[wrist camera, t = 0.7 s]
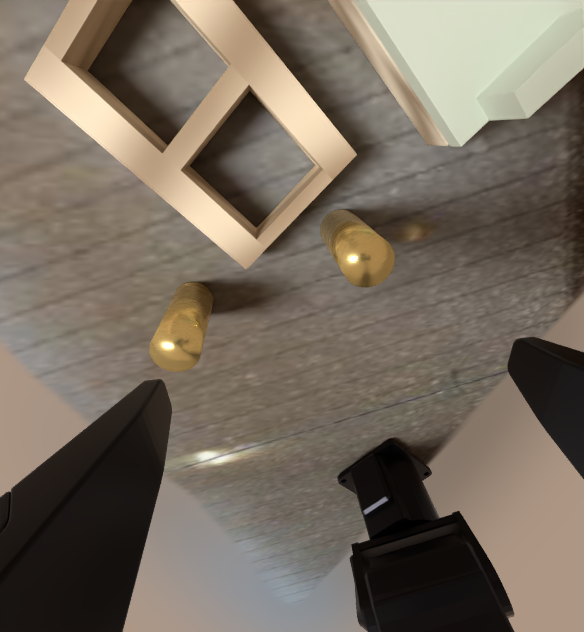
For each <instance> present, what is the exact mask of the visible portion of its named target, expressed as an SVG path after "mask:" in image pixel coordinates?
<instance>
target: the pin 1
mask: <svg viewBox="0 0 584 632" xmlns="http://www.w3.org/2000/svg"><path fill="white" fill-rule="evenodd" d="M212 306H213V295H212V293H211V291H210V290H209V289H208V288H207V287H206V286H205V285H203V284H201V283H198V282H187V283H184V284H182V285H181V286H180V287H179V288H178V289H177V291H176V293H175V295H174V297H173V299H172V301H171V303H170V305H169V307H168V309H167V311H166V313H165V315H164V317H163V319H162V321H161V323H160V325H159V327H158V329H157V331H156V333H155V335H154V337H153V339H152V341H151V343H150V347H149V352H150V356H151V358H152V359H153V361H154V362H155V363H156V364H157V365H158V366H160V367H161V368H163V369H166V370H169V371H174V372H180V371H185V370H188V369H190V368H192V367H193V366H195V365H196V363H197V362H198V361H199V358H200V354H201V350H202V346H203V342H204V338H205V334H206V330H207V326H208V322H209V318H210V314H211V310H212Z"/></svg>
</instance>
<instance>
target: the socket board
mask: <svg viewBox="0 0 584 632" xmlns="http://www.w3.org/2000/svg"><path fill="white" fill-rule="evenodd" d="M170 1H171V2H172V3H173V4H174V5H175V6H176V8H177V9H178V10H179V11H180V12H181V13H182V14H183V16H184V17H185V18H186V19H187V20H188V21H189V22H190V23H191V25H192V26H193V27H194V28H195V29H196V30H197V31H198V33H199V34H200V35H201V36H202V37H203V38H204V39H205V40H206V42H207V43H208V44H209V45H210V46H211V47H212V48H213V50H214V51H215V52H216V53H217V54H218V55H219V56H220V57H221V59H222V60H223V61H224V62H225V63H226V64H227V65H228V68H227V70H226V71H225V72H224V74H223V75H222V76H221V78H220V79H219V80H218V82H217V83H216V84H215V85H214V87H213V88H212V89H211V91H210V92H209V93H208V95H207V96H206V97H205V99H204V100H203V101H202V102H201V104H200V105H199V106H198V108H197V109H196V110H195V112H194V113H193V114H192V116H191V117H190V118H189V119H188V121H187V122H186V123H185V125H184V126H183V127H182V129H181V130H180V131H179V133H178V134H177V135H176V136H175V138H174V139H173V140H172V142H171V143H170V144H169V146H168V145H167V144H166V143H165V142H163V141H162V140H161V139H160V138H159V137H158V136H157V135H156V134H155V133H154V132H153V131H152V130H151V129H150V128H148V127H147V126H146V125H145V124H144V123H143V122H142V121H141V120H140V119H139V118H138V117H137V116H136V115H135V114H133V113H132V112H131V111H130V110H129V109H128V108H127V107H126V106H125V105H124V104H123V103H122V102H121V101H119V100H118V99H117V98H116V97H115V96H114V95H113V94H112V93H111V92H110V91H109V90H108V89H107V88H106V87H104V86H103V85H102V84H101V83H100V82H99V81H98V80H97V79H96V78H95V77H94V76H93V75H92V74H91V73H89V72H88V69H89V68H90V66H91V65H92V63H93V61H94V60H95V58H96V57H97V55H98V54H99V52H100V50H101V49H102V47H103V46H104V44H105V43H106V41H107V39H108V38H109V36H110V35H111V33H112V32H113V30H114V28H115V27H116V25H117V24H118V22H119V21H120V19H121V17H122V16H123V14H124V13H125V11H126V9H127V8H128V6H129V5H130V3H131V2H132V0H70V1H69V2H68V4H67V6H66V8H65V9H64V11H63V13H62V14H61V16H60V18H59V20H58V21H57V23H56V25H55V26H54V28H53V30H52V32H51V33H50V35H49V37H48V39H47V40H46V42H45V44H44V45H43V47H42V49H41V51H40V52H39V54H38V56H37V58H36V59H35V61H34V63H33V64H32V66H31V68H30V70H29V71H28V73H27V75H26V77H25V78H24V80H25V81H26V82H28V83H29V84H30V85H31V86H32V87H33V88H35V89H36V90H37V91H38V92H39V93H40V94H42V95H43V96H44V97H45V98H46V99H47V100H49V101H50V102H51V103H52V104H53V105H54V106H56V107H57V108H58V109H59V110H60V111H61V112H63V113H64V114H65V115H66V116H67V117H68V118H70V119H71V120H72V121H73V122H74V123H76V124H77V125H78V126H79V127H80V128H81V129H83V130H84V131H85V132H86V133H87V134H88V135H90V136H91V137H92V138H93V139H94V140H95V141H97V142H98V143H99V144H100V145H101V146H102V147H104V148H105V149H106V150H107V151H108V152H109V153H111V154H112V155H113V156H114V157H115V158H116V159H118V160H119V161H120V162H121V163H122V164H123V165H125V166H126V167H127V168H128V169H129V170H130V171H132V172H133V173H134V174H135V175H136V176H138V177H139V178H140V179H141V180H142V181H143V182H145V183H146V184H147V185H148V186H149V187H150V188H152V189H153V190H154V191H155V192H156V193H157V194H159V195H160V196H161V197H162V198H163V199H164V200H166V201H167V202H168V203H169V204H170V205H171V206H173V207H174V208H175V209H176V210H177V211H178V212H180V213H181V214H182V215H183V216H184V217H185V218H187V219H188V220H189V221H190V222H191V223H192V224H194V225H195V226H196V227H197V228H198V229H199V230H201V231H202V232H203V233H204V234H205V235H207V236H208V237H209V238H210V239H211V240H212V241H214V242H215V243H216V244H217V245H218V246H219V247H221V248H222V249H223V250H224V251H225V252H226V253H228V254H229V255H230V256H231V257H232V258H233V259H235V260H236V261H237V262H238V263H239V264H240V265H242V266H243V267H244V268H245V269H247V268H248V267H249V266H250V265H251V264H252V263H253V262H254V261H255V260H256V259H257V258H258V257H259V256H260V255H261V254H262V253H263V252H264V251H265V250H266V248H267V247H268V246H269V245H270V244H271V243H272V242H273V241H274V240H275V239H276V238H277V237H278V236H279V235H280V234H281V233H282V232H283V231H284V230H285V229H286V228H287V227H288V226H289V225H290V224H291V223H292V222H293V221H294V219H295V218H296V217H297V216H298V215H299V214H300V213H301V212H302V211H303V210H304V209H305V208H306V207H307V206H308V205H309V204H310V203H311V202H312V201H313V200H314V199H315V198H316V197H317V196H318V195H319V194H320V193H321V192H322V190H323V189H324V188H325V187H326V186H327V185H328V184H329V183H330V182H331V181H332V180H333V179H334V178H335V177H336V176H337V175H338V174H339V173H340V172H341V171H342V170H343V169H344V168H345V167H346V166H347V165H348V164H349V163H350V162H351V160H352V159H353V158H354V157H355V156H356V155H357V154H356V152H355V151H354V150H353V149H352V147H351V146H350V145H349V144H348V143H347V141H346V140H345V139H344V138H343V136H342V135H341V134H340V133H339V131H338V130H337V129H336V128H335V126H334V125H333V124H332V123H331V121H330V120H329V119H328V118H327V117H326V115H325V114H324V113H323V112H322V110H321V109H320V108H319V107H318V105H317V104H316V103H315V102H314V100H313V99H312V98H311V97H310V95H309V94H308V93H307V92H306V91H305V89H304V88H303V87H302V86H301V84H300V83H299V82H298V81H297V79H296V78H295V77H294V76H293V74H292V73H291V72H290V71H289V69H288V68H287V67H286V66H285V64H284V63H283V62H282V61H281V60H280V58H279V57H278V56H277V55H276V53H275V52H274V51H273V50H272V48H271V47H270V46H269V45H268V43H267V42H266V41H265V40H264V38H263V37H262V36H261V35H260V34H259V32H258V31H257V30H256V29H255V27H254V26H253V25H252V24H251V22H250V21H249V20H248V19H247V17H246V16H245V15H244V14H243V12H242V11H241V10H240V9H239V8H238V6H237V5H236V4H235V3H234V1H233V0H170ZM249 91H251V93H252V94H253V95H254V96H255V97H256V98H257V99H258V101H259V102H260V103H261V104H262V105H263V106H264V107H265V108H266V110H267V111H268V112H269V113H270V114H271V115H272V116H273V118H274V119H275V120H276V121H277V122H278V123H279V124H280V125H281V127H282V128H283V129H284V130H285V131H286V132H287V133H288V135H289V136H290V137H291V138H292V139H293V140H294V141H295V142H296V144H297V145H298V146H299V147H300V148H301V149H302V150H303V152H304V153H305V154H306V155H307V156H308V157H309V158H310V159H311V161H312V162H313V163H314V164H315V166H314V167H313V168H312V169H311V170H310V171H309V172H308V173H307V174H306V175H305V177H304V178H303V179H302V180H301V181H300V182H299V183H298V184H297V185H296V186H295V187H294V188H293V189H292V191H291V192H290V193H289V194H288V195H287V196H286V197H285V198H284V199H283V200H282V201H281V202H280V203H279V204H278V206H277V207H276V208H275V209H274V210H273V211H272V212H271V213H270V214H269V215H268V216H267V217H266V218H265V219H264V221H263V222H262V223H261V224H260V225H259V226H258V227H257V228H256V227H255V226H254V225H252V224H251V223H250V222H249V221H248V220H247V219H246V218H245V217H244V216H243V215H242V214H241V213H240V212H239V211H237V210H236V209H235V208H234V207H233V206H232V205H231V204H230V203H229V202H228V201H227V200H226V199H225V198H224V197H222V196H221V195H220V194H219V193H218V192H217V191H216V190H215V189H214V188H213V187H212V186H211V185H210V184H209V183H207V182H206V181H205V180H204V179H203V178H202V177H201V176H200V175H199V174H198V173H197V172H196V171H195V170H194V169H192V168H191V167H190V165H191V163H192V162H193V161H194V160H195V158H196V157H197V156H198V155H199V153H200V152H201V151H202V150H203V148H204V147H205V146H206V145H207V143H208V142H209V141H210V140H211V138H212V137H213V136H214V135H215V133H216V132H217V131H218V130H219V128H220V127H221V126H222V125H223V123H224V122H225V121H226V120H227V118H228V117H229V116H230V115H231V113H232V112H233V111H234V110H235V108H236V107H237V106H238V105H239V104H240V102H241V101H242V100H243V99H244V97H245V96H246V95H247V94H248V92H249Z"/></svg>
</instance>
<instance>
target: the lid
mask: <svg viewBox="0 0 584 632" xmlns="http://www.w3.org/2000/svg"><path fill="white" fill-rule="evenodd" d="M354 2H355V3H356V5H357V6H358V8H359V9H360V11H361V12H362V14H363V15H364V17H365V18H366V20H367V21H368V23H369V24H370V26H371V27H372V29H373V30H374V32H375V33H376V35H377V36H378V38H379V39H380V41H381V42H382V44H383V45H384V47H385V48H386V50H387V51H388V53H389V54H390V56H391V57H392V59H393V61H394V62H395V64H396V65H397V67H398V68H399V70H400V71H401V73H402V74H403V76H404V77H405V79H406V80H407V82H408V83H409V85H410V86H411V88H412V89H413V91H414V92H415V94H416V95H417V97H418V98H419V100H420V101H421V103H422V104H423V106H424V107H425V109H426V110H427V112H428V113H429V115H430V116H431V118H432V119H433V121H434V122H435V124H436V125H437V127H438V129H439V130H440V132H441V133H442V135H443V136H444V138H445V139H446V141H447V142H448V144H449V145H450V146H455V147H461V146H463V145H464V144H465V143H466V142H467V141H468V140H469V139H470V138H471V137H472V136H473V135H474V134H475V133H476V132H477V131H478V130H480V129H481V128H482V127H483V126H484V125H485V124H486V123H487V122H488V121H490V120H509V119H528V118H529V117H530V116H531V115H532V114H533V113H535V112H536V111H537V110H538V109H539V108H540V107H541V106H542V105H543V104H544V103H546V102H547V101H548V100H549V99H550V98H551V97H552V96H553V95H554V94H555V93H557V92H558V91H559V90H560V89H561V88H562V87H563V86H564V85H565V84H566V83H568V82H569V81H570V80H571V79H572V78H573V77H574V76H575V75H576V74H577V73H579V72H580V71H581V70H582V69H583V68H584V0H354Z"/></svg>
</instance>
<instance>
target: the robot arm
mask: <svg viewBox="0 0 584 632" xmlns="http://www.w3.org/2000/svg"><path fill="white" fill-rule="evenodd" d="M508 372H509V374H510V376H511V377H512V379H513V381H514V382H515V384H516V385H517V387H518V389H519V390H520V392H521V393H522V395H523V396H524V398H525V400H526V401H527V403H528V404H529V406H530V408H531V409H532V411H533V412H534V414H535V415H536V417H537V418H538V420H539V421H540V423H541V424H542V426H543V427H544V428H545V430H546V431H547V433H548V434H549V435H550V436H551V438H552V439H553V440H554V442H555V443H556V444H557V445H558V447H559V448H560V449H561V451H562V452H563V453H564V455H565V456H566V457H567V458H568V460H569V461H570V462H571V464H572V465H573V466H574V467H575V469H576V470H577V471H578V473H579V474H580V475H581V476H582V478H583V479H584V352H580V351H577V350H574V349H571V348H568V347H565V346H561V345H558V344H555V343H552V342H549V341H545V340H542V339H539V338H536V337H527V338H519V339H517V340H515V342H514V343H513V346H512V350H511V354H510V357H509V361H508ZM171 415H172V407H171V402H170V399H169V396H168V393H167V390H166V386H165V384H164V382H163V380H161V379H156V380H148V381H144V382H143V383H141V384H140V385H139V386H138V387H137V388H135V389H134V390H133V391H132V392H130V393H129V394H128V395H127V396H125V397H124V398H123V399H122V400H120V401H119V402H118V403H117V404H115V405H114V406H113V407H112V408H110V409H109V410H108V411H107V412H106V413H104V414H103V415H102V416H101V417H99V418H98V419H97V420H96V421H94V422H93V423H92V424H91V425H89V426H88V427H87V428H86V429H84V430H83V431H82V432H81V433H80V434H78V435H77V436H76V437H75V438H73V439H72V440H71V441H70V442H69V443H67V444H66V445H65V446H63V447H62V448H61V449H60V450H59V451H57V452H56V453H55V454H53V455H52V456H51V457H50V458H49V459H47V460H46V461H45V462H44V463H42V464H41V465H40V466H39V467H37V468H36V469H35V470H34V471H32V472H31V473H30V474H29V475H27V476H26V477H25V478H24V479H22V480H21V481H20V482H19V483H18V484H17V485H15V486H14V487H13V488H12V489H11V492H6V493H5V494H4V495H2V496H1V497H0V632H123V628H124V624H125V620H126V617H127V613H128V608H129V605H130V601H131V597H132V593H133V589H134V585H135V582H136V578H137V573H138V570H139V566H140V562H141V558H142V554H143V550H144V547H145V542H146V539H147V535H148V531H149V527H150V523H151V519H152V515H153V512H154V507H155V504H156V500H157V496H158V492H159V488H160V484H161V480H162V476H163V472H164V466H165V459H166V452H167V444H168V437H169V430H170V423H171ZM431 474H432V472H431V470H430V468H429V467H428V466H426V465H425V464H424V463H423V462H421V461H420V460H419V459H417V458H416V457H415V456H413V455H412V454H411V453H410V452H408V451H407V450H406V449H404V448H403V447H402V446H400V445H399V444H398V443H396V442H395V441H394V440H388V441H386V442H385V443H384V444H382V445H381V446H379V447H378V448H377V449H375V450H374V451H372V452H371V453H369V454H368V455H367V456H365V457H364V458H362V459H361V460H360V461H358V462H357V463H355V464H354V465H353V466H351V467H350V468H348V469H347V470H345V471H344V472H343V473H341V474H340V475H339V476H338V477H337V478H338V482H339V484H341V485H342V486H344V487H346V488H347V489H349V490H350V491H352V492H354V493H355V494H357V498H358V502H359V505H360V509H361V512H362V514H363V517H364V521H365V524H366V528H367V531H368V535H369V538H370V540H368V541H365V542H362V543H358V542H357V543H354V544H351V545H352V551H353V555H352V556H351V557H350V562H351V567H352V571H353V576H354V582H355V594H356V609H357V618H358V622H359V624H360V626H362V627H363V628H364V629H365V630H366V631H368V632H514V630H513V628H512V626H511V624H510V622H509V620H508V618H509V617H513V616H514V612H513V608H512V605H511V603H510V600H509V598H508V596H507V593H506V591H505V589H504V587H503V585H502V583H501V580H500V578H499V577H498V575H497V573H496V571H495V569H494V567H493V565H492V563H491V562H490V560H489V558H488V557H487V555H486V553H485V552H484V550H483V548H482V547H481V545H480V544H479V542H478V540H477V539H476V537H475V536H474V534H473V532H472V531H471V529H470V528H469V526H468V524H467V523H466V521H465V520H464V518H463V516H462V515H461V514H460V511H457V512H453V513H452V515H449V516H445V517H442V518H440V517H439V515H438V513H437V511H436V509H435V507H434V505H433V503H432V501H431V499H430V497H429V494H428V492H427V490H426V488H425V486H424V484H423V482H422V481H423V480H424V479H426V478H427V477H429V476H430V475H431Z"/></svg>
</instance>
